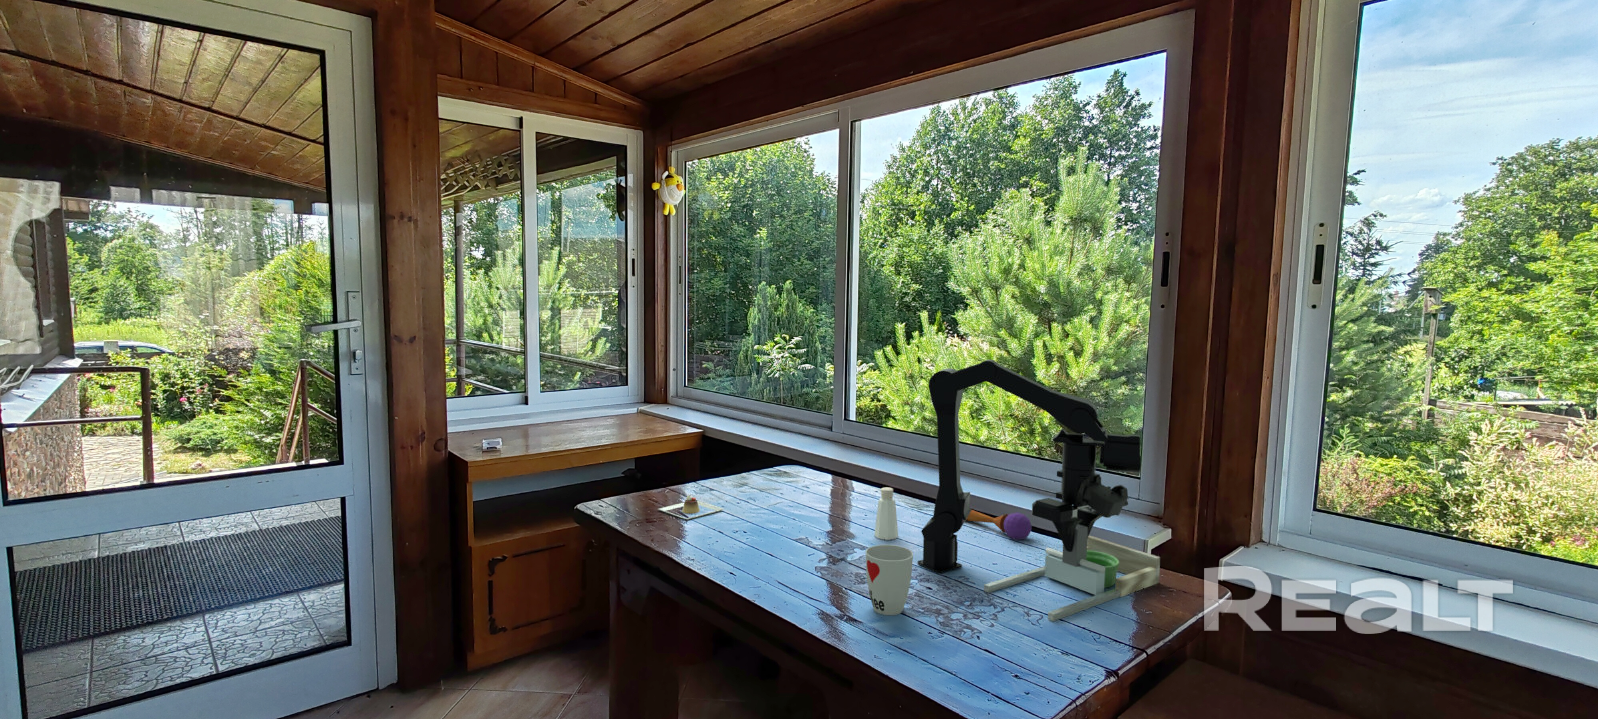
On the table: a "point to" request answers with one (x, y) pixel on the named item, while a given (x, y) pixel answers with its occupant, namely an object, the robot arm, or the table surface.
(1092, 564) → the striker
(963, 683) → the table surface
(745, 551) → the table surface
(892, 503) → the pepper shaker
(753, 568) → the table surface
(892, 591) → the cup
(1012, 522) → the maraca
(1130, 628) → the table surface
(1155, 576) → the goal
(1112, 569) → the ramekin
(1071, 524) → the robot arm
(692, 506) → the dessert
